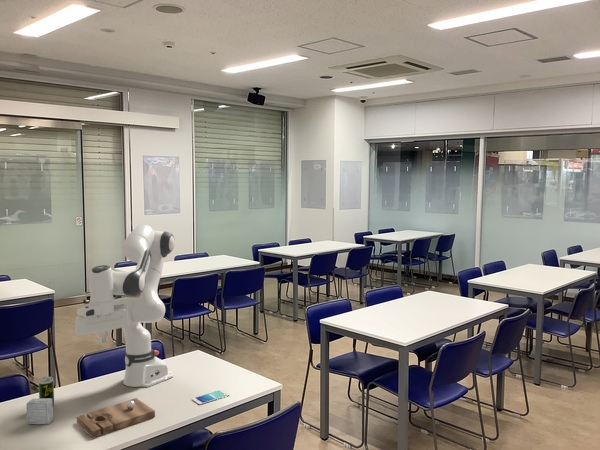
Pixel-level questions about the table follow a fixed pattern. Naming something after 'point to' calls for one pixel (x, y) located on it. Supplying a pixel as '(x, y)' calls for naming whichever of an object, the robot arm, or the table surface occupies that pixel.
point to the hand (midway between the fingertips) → (103, 342)
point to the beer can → (46, 388)
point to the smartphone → (209, 397)
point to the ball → (130, 404)
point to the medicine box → (39, 411)
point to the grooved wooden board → (114, 417)
